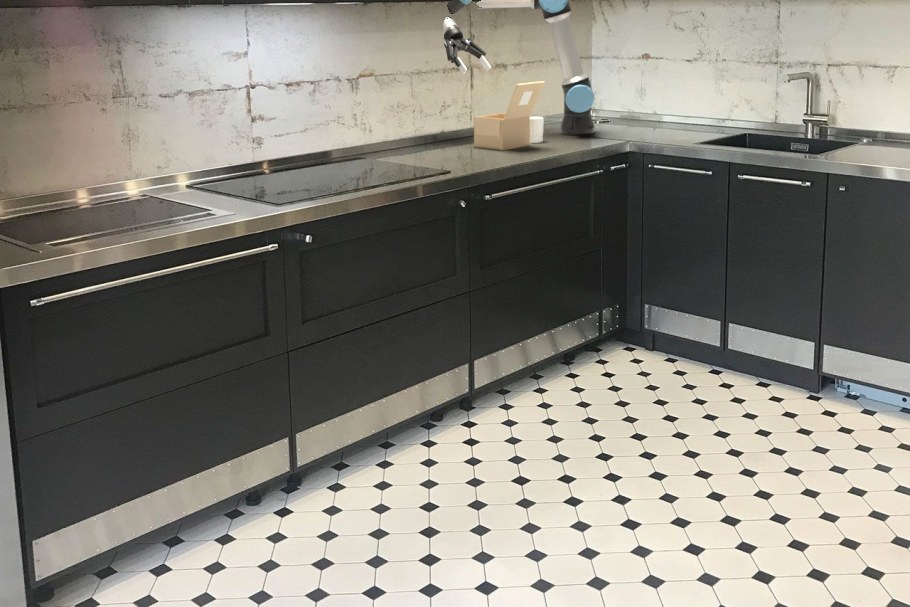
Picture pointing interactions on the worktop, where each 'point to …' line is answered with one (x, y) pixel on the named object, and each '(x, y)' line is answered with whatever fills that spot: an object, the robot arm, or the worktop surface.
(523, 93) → the lid flap
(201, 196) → the worktop surface
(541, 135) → the white cup
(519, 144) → the carton
